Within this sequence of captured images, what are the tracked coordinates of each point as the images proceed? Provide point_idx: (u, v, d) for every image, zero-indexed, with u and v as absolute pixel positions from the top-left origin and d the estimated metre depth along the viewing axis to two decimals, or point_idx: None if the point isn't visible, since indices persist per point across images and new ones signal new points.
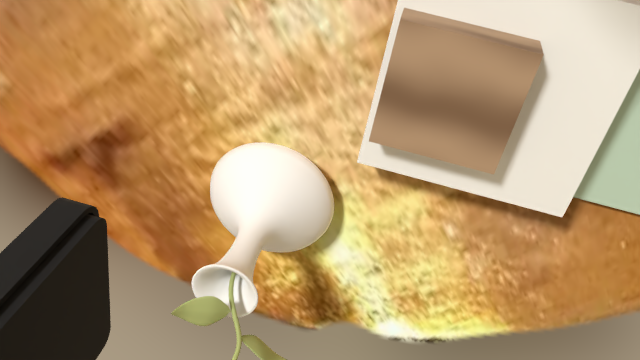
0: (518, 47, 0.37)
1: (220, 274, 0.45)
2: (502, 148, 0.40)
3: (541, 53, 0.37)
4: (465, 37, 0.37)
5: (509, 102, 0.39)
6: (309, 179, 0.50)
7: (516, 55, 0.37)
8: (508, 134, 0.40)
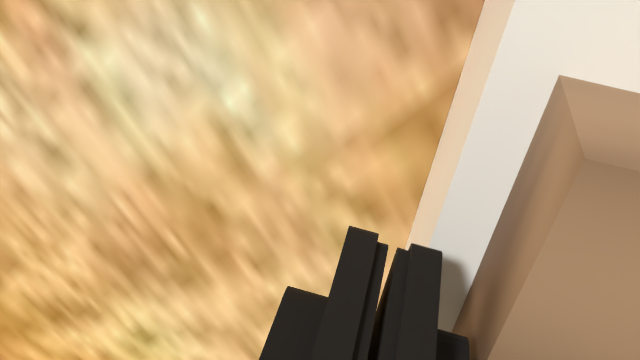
0: None
1: None
2: None
3: None
4: None
5: None
6: None
7: None
8: None
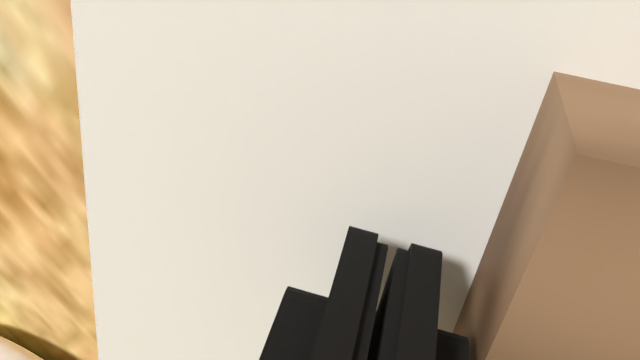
0: None
1: None
2: None
3: None
4: None
5: None
6: None
7: None
8: None
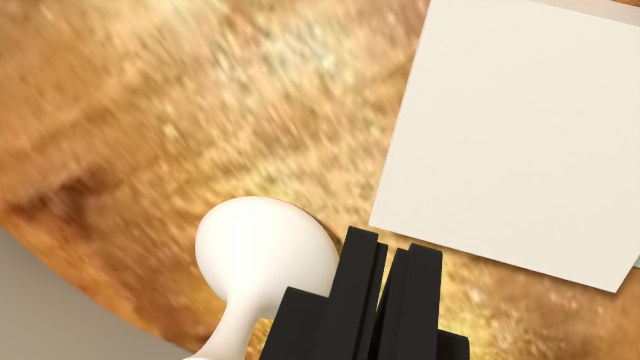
0: None
1: None
2: None
3: None
4: None
5: None
6: (311, 240, 0.42)
7: None
8: None
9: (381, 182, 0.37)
